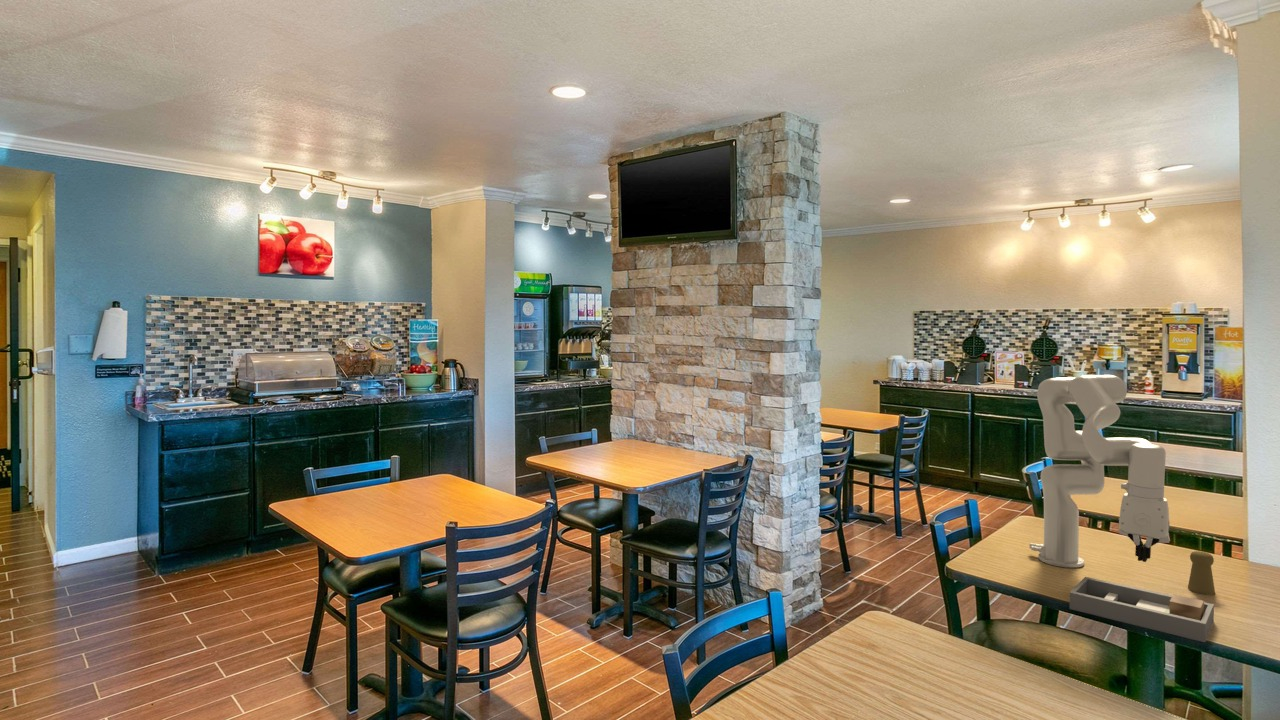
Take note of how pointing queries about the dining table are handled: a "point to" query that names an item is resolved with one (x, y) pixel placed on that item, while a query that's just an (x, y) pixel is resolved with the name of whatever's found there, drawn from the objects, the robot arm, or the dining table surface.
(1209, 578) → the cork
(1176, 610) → the walnut block
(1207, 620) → the channel
